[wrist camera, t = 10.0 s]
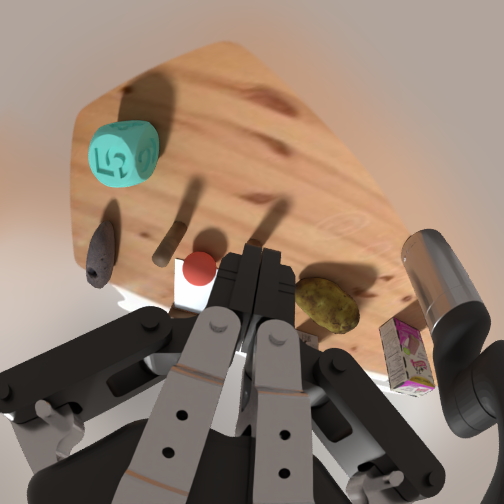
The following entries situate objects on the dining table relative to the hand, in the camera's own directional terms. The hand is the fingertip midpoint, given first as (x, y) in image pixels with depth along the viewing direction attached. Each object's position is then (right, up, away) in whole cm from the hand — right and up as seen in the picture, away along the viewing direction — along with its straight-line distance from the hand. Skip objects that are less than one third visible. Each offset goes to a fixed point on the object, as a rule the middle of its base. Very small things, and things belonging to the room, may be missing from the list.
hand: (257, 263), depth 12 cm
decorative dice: (-18, +17, +27) cm, 36 cm away
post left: (-13, +5, +35) cm, 37 cm away
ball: (-9, -2, +36) cm, 37 cm away
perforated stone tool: (-29, +2, +40) cm, 49 cm away
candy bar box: (+34, -17, +44) cm, 58 cm away
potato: (+14, -7, +39) cm, 42 cm away
